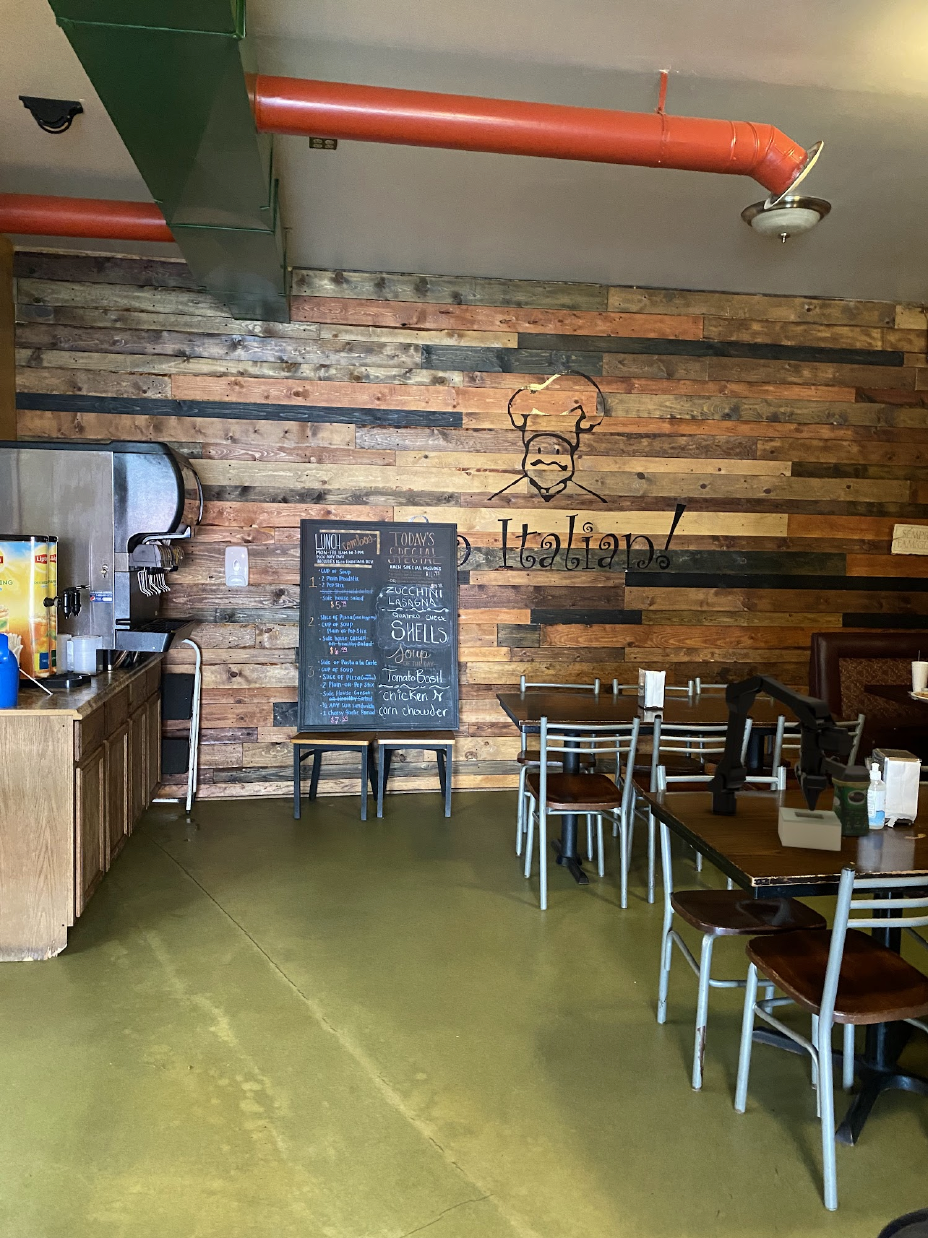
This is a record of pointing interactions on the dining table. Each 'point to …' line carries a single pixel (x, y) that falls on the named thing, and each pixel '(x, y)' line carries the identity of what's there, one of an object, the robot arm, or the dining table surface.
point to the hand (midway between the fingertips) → (809, 806)
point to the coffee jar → (852, 800)
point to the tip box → (809, 829)
